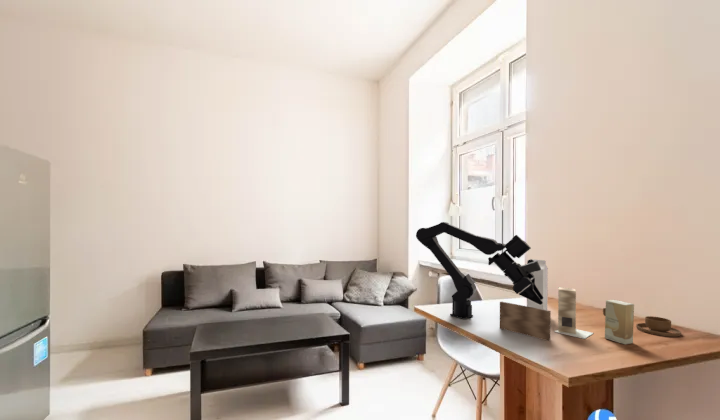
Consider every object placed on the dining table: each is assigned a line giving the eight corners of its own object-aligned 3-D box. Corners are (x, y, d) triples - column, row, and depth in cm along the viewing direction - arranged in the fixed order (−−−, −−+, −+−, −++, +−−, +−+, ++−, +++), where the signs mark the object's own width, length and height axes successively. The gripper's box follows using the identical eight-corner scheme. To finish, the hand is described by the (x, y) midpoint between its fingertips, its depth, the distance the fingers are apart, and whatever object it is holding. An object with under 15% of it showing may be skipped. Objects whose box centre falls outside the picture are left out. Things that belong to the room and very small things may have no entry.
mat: (554, 331, 119) (554, 331, 119) (564, 327, 125) (564, 326, 125) (584, 339, 113) (584, 338, 113) (593, 333, 118) (593, 332, 119)
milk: (543, 318, 136) (543, 261, 136) (526, 315, 140) (526, 259, 140) (547, 315, 140) (548, 259, 141) (531, 312, 144) (531, 258, 145)
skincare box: (604, 338, 114) (604, 300, 114) (612, 336, 115) (612, 299, 116) (625, 345, 108) (625, 304, 108) (634, 343, 109) (634, 303, 110)
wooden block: (558, 331, 119) (558, 289, 120) (558, 327, 124) (558, 287, 124) (575, 333, 117) (575, 291, 117) (574, 329, 121) (575, 288, 122)
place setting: (663, 341, 113) (663, 323, 114) (599, 324, 132) (599, 308, 132) (692, 335, 120) (692, 318, 121) (628, 320, 139) (628, 304, 139)
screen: (499, 328, 122) (499, 302, 122) (501, 327, 123) (501, 301, 123) (548, 340, 110) (548, 311, 110) (550, 340, 111) (550, 311, 111)
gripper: (524, 254, 119) (561, 291, 113) (528, 250, 135) (560, 283, 130) (498, 275, 123) (533, 312, 117) (505, 269, 139) (536, 301, 133)
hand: (542, 301), depth 124 cm, fingers open, 9 cm apart
